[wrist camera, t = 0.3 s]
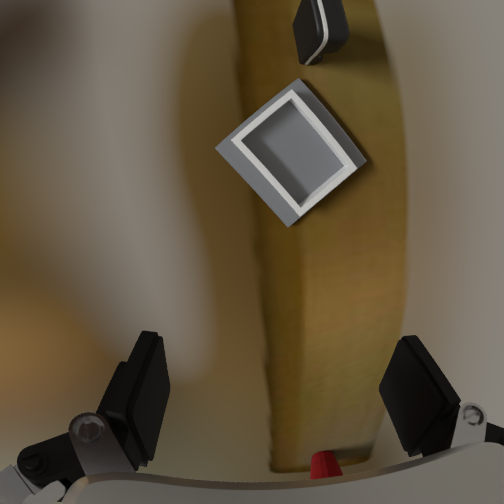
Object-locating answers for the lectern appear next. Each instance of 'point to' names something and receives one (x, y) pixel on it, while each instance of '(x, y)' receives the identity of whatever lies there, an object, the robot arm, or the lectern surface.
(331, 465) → the plastic cup
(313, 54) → the battery charger
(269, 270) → the lectern surface
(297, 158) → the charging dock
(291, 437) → the lectern surface
